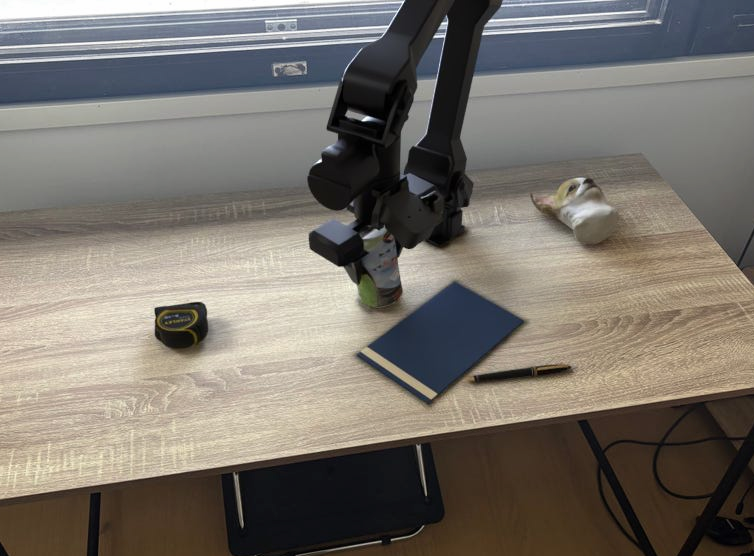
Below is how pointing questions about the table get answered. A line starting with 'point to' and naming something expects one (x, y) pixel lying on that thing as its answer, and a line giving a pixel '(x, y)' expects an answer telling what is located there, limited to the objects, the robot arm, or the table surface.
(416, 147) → the robot arm
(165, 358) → the table surface
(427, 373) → the blue hardcover notebook
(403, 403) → the table surface
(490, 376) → the fountain pen
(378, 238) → the beverage can
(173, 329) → the tape measure
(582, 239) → the ceramic sculpture
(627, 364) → the table surface
